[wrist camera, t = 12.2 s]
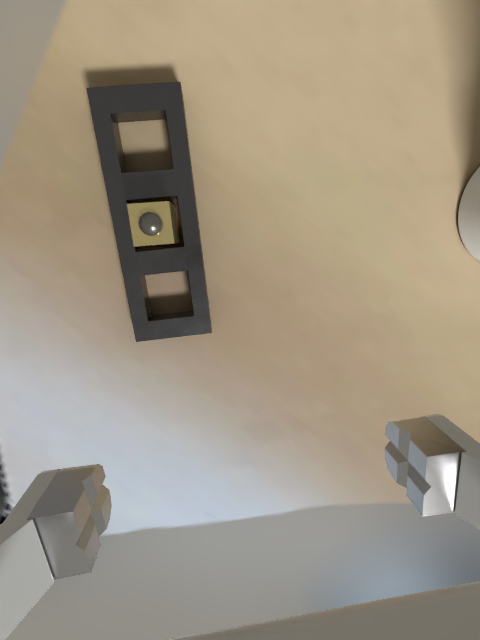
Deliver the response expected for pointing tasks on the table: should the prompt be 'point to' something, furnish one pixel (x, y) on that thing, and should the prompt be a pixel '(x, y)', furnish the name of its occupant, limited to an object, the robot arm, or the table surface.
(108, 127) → the grey flat slotted block
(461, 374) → the table surface
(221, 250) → the table surface
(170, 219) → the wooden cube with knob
